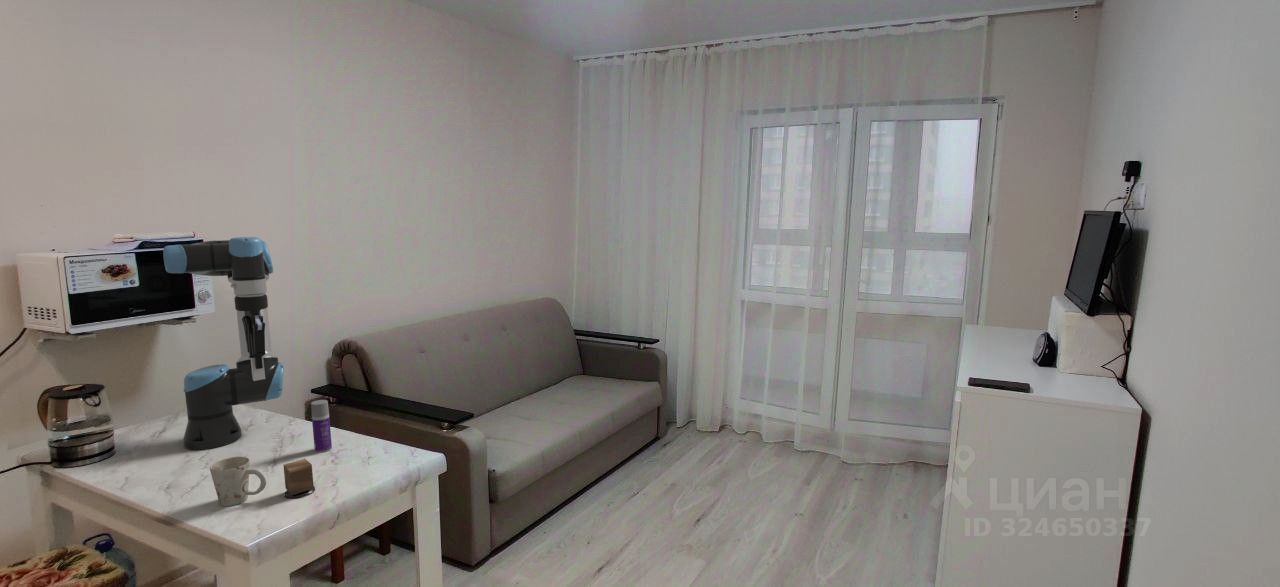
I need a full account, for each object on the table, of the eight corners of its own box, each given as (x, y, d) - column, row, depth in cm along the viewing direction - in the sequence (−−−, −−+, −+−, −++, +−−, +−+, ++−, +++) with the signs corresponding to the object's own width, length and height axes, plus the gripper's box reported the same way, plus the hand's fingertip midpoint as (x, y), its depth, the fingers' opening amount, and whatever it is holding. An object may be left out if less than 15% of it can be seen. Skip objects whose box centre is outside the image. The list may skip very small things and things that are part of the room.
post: (280, 492, 161) (278, 466, 160) (309, 483, 166) (307, 458, 165) (289, 501, 156) (286, 475, 155) (318, 492, 161) (316, 466, 160)
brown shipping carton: (285, 488, 161) (283, 464, 160) (307, 482, 164) (305, 458, 163) (291, 495, 157) (289, 470, 156) (313, 488, 161) (311, 464, 160)
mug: (226, 493, 160) (222, 457, 159) (276, 491, 161) (273, 455, 160) (206, 509, 152) (202, 471, 150) (260, 507, 153) (256, 469, 151)
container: (324, 453, 185) (320, 405, 183) (311, 451, 186) (306, 404, 184) (335, 447, 190) (331, 400, 188) (322, 445, 191) (318, 399, 188)
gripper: (228, 293, 168) (237, 377, 172) (240, 299, 159) (249, 387, 163) (259, 290, 173) (267, 371, 177) (273, 295, 164) (281, 381, 168)
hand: (259, 379), depth 170 cm, fingers closed
